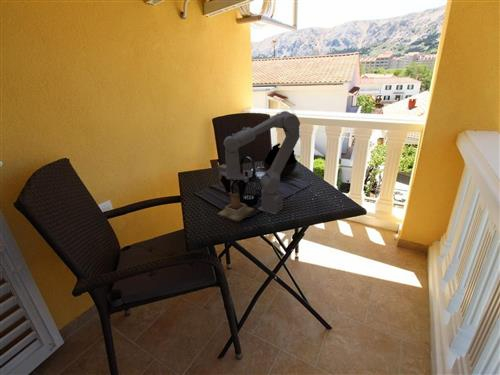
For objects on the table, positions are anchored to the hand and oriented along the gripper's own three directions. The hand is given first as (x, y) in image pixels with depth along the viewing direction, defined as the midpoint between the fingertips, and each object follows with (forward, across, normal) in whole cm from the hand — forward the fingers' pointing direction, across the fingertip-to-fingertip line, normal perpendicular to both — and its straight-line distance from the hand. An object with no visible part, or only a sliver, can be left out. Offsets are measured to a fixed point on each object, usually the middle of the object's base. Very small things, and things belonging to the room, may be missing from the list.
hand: (235, 194), depth 117 cm
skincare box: (+10, -24, +21) cm, 33 cm away
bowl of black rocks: (+10, -5, +49) cm, 50 cm away
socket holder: (+9, 0, 0) cm, 9 cm away
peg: (+8, 0, 0) cm, 9 cm away
